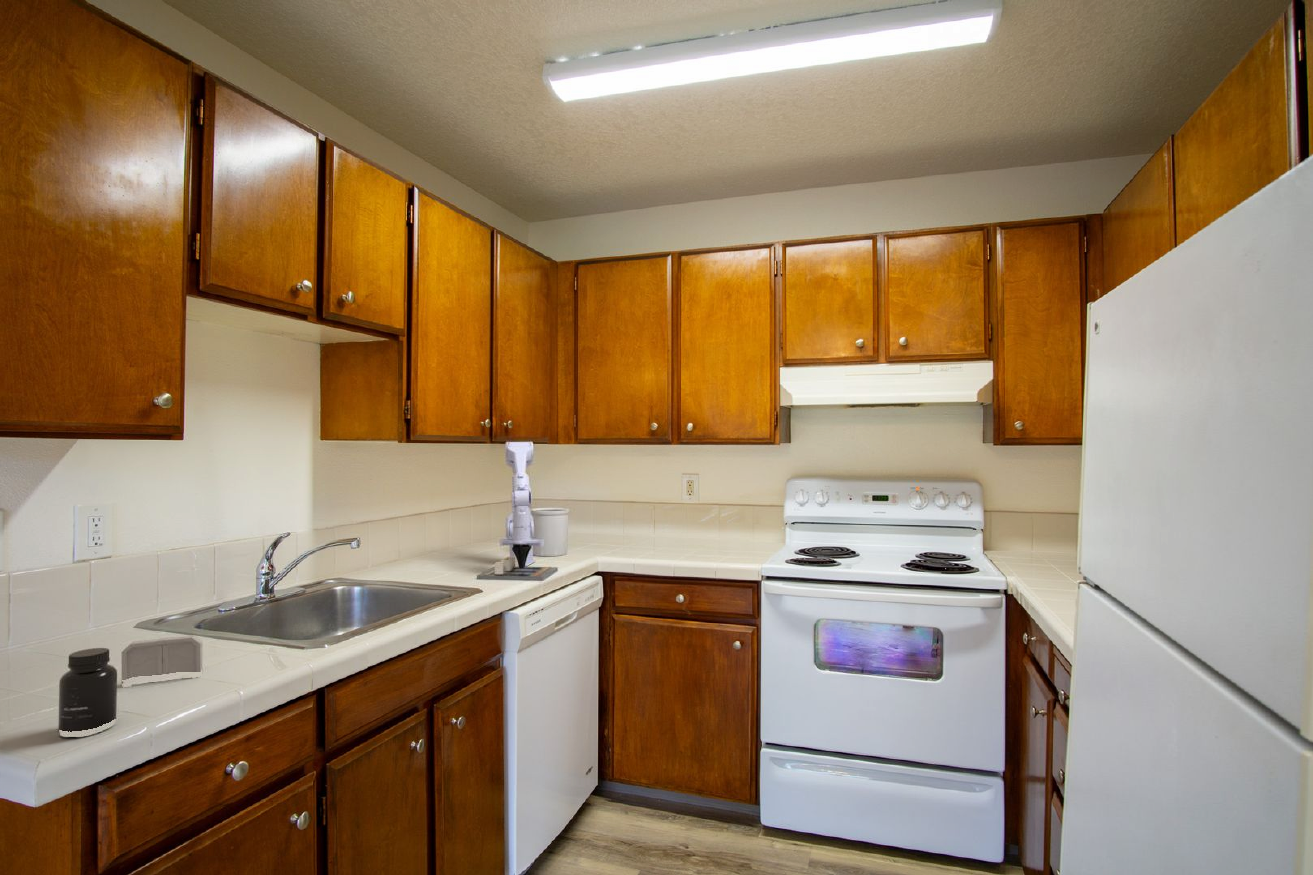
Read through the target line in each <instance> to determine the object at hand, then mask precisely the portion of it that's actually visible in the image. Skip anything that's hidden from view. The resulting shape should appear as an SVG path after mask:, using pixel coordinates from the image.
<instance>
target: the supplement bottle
mask: <svg viewBox="0 0 1313 875" xmlns="http://www.w3.org/2000/svg"><path fill="white" fill-rule="evenodd" d="M110 658H111V657H110V649H109V648H107V647H95V648H93V647H92V648H87V649H86V648H85V649H82V650H77V651H74V652H72V653H70V654H69V655H68V663H67V669H69V670H68V671H67V672H65V673H64V674H63V675H62V676H61V677H60V679H59V684H58V685H59V686H58V687H59V688H58V731H59V730H62V731H68V732H69V731H70V732H72V731H82V730H88V729H93V728H97V727H99V726H102V725H103V724H106V723H109V722H111V721H112V720H114V719H116V720H117V711H118V710H117V706H118V704H117V703H118V702H117V701H118V693H117V692H118V670H117V669H116V668H115V666H114V665H111V664H108V663H109V662H110V661H111V659H110Z"/></svg>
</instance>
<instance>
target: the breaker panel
mask: <svg viewBox="0 0 1313 875" xmlns="http://www.w3.org/2000/svg"><path fill="white" fill-rule="evenodd" d="M506 558H509V559H512V570H510V571H506V562H502V561H501V560H500V561H496V562H494V566H493V567H491V568H489V569H487V570H485V571H483V572H481V573H479V574H477V575H476V580H493V581H495V580H496V581H497V580H499V581H500V580H501V581H534V582H535V581H536V582H538V581H539V582H543V581H545V580H546V579H548V578H549V577H550V576H552V575H554V574H555V573H557V572H558V570H559V568H558V567H556V566H554V567H553V566H525V567H524V568H519V566H518V561H517V558H516V556H510V555H508V556H507V557H506Z"/></svg>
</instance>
